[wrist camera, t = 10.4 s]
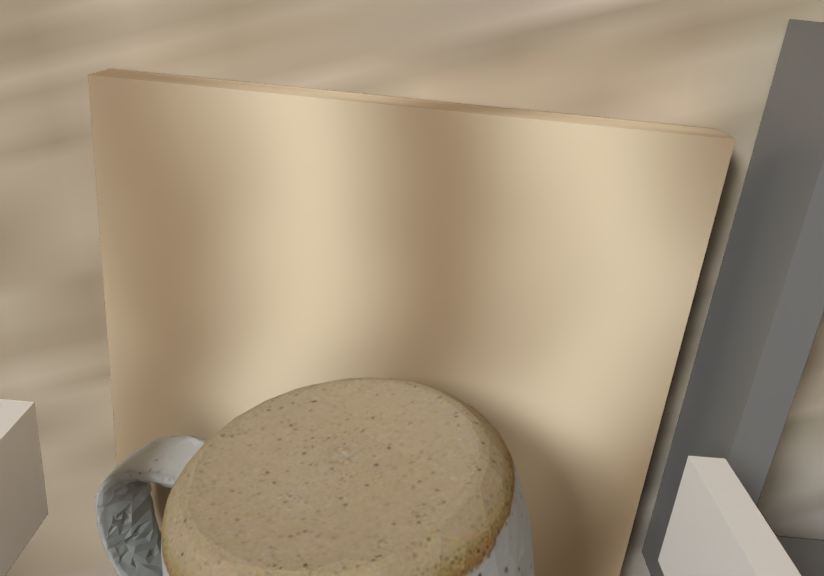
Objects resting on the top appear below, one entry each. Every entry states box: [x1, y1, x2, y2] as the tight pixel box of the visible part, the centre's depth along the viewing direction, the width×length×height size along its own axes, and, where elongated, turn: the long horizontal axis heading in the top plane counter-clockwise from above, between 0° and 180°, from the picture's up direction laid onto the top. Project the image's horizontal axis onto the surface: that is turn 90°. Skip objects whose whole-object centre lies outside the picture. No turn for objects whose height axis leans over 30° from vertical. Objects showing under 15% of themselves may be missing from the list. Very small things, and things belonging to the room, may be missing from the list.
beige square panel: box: [88, 69, 736, 576], centre depth 19 cm, size 14×14×1 cm
